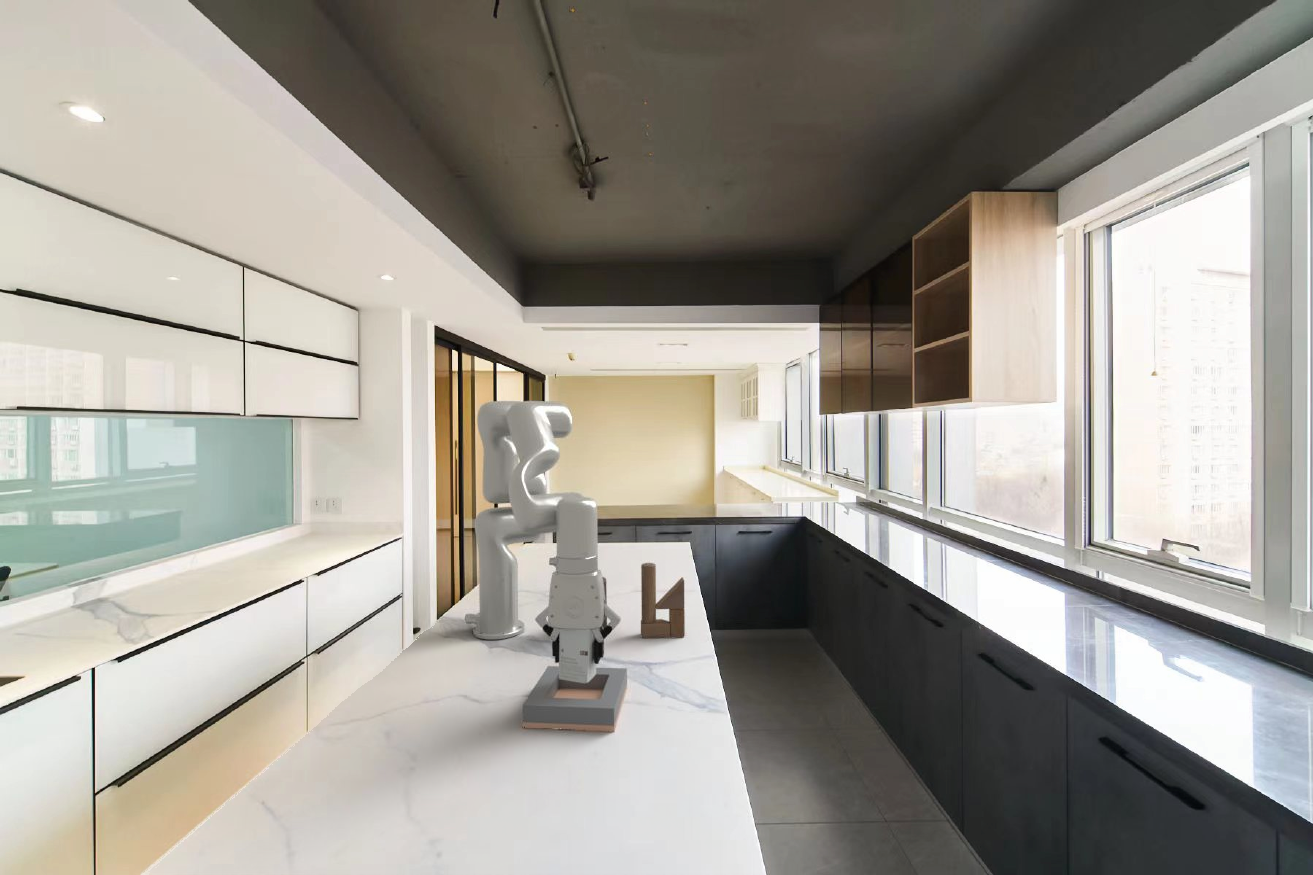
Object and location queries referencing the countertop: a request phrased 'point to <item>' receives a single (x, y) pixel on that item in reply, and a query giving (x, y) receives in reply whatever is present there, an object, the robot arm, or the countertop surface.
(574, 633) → the skincare box
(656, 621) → the wooden block
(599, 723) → the gray square frame
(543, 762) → the countertop surface
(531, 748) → the countertop surface
